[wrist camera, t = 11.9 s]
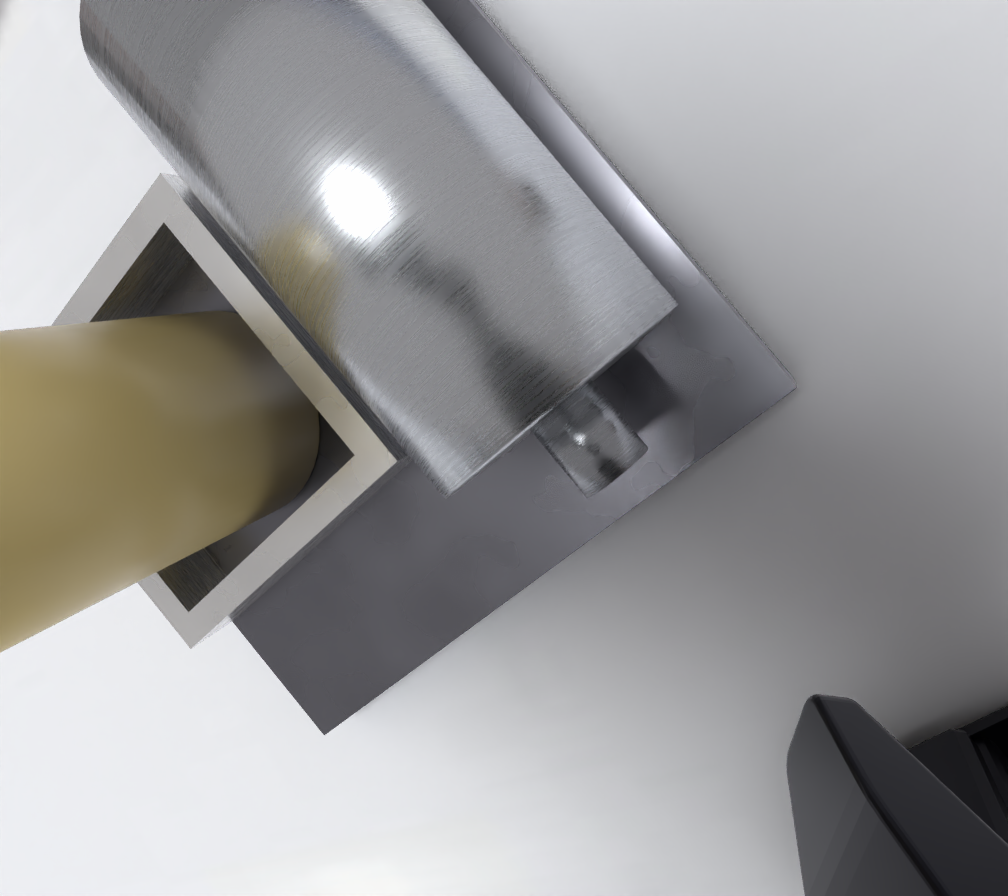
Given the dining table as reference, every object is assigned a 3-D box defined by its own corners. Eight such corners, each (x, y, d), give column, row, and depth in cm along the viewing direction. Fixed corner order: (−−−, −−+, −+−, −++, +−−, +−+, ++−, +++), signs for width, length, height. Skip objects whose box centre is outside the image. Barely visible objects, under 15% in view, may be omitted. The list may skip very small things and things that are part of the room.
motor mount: (793, 378, 18) (816, 448, 11) (349, 708, 24) (186, 883, 17) (422, -62, 18) (218, -262, 11) (82, 379, 25) (-180, 422, 18)
